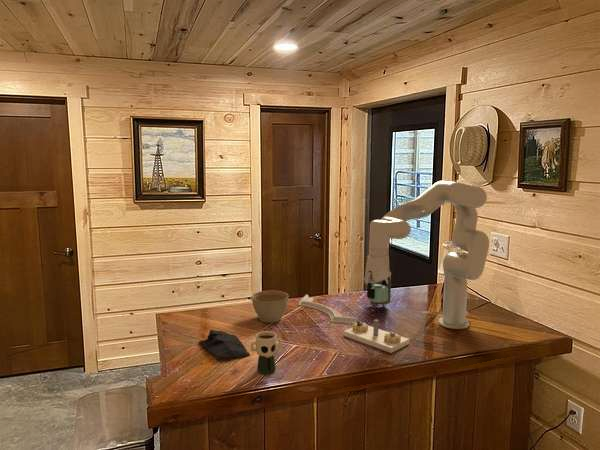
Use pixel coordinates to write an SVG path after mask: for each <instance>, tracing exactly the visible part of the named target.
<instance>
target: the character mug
mask: <svg viewBox="0 0 600 450" xmlns="http://www.w3.org/2000/svg"><path fill="white" fill-rule="evenodd" d="M254 346H255V348H254ZM280 347H282V338H281V337H277V334H276V332H275V331H266V330H265V331H260V332H257V333H256V334H255V341H252V342H251V343H250V351H251V352H253V353H254V352H255V353H256V355H258V360H257V372H258V373H259V374H263V375H269V372H270V374H272V373H275V371H276V360H275V355H276V353H277V351H278V348H280Z"/></svg>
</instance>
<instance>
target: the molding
mask: <svg viewBox="0 0 600 450" xmlns="http://www.w3.org/2000/svg"><path fill="white" fill-rule="evenodd" d="M314 299H315V298H314V297H313V296H312V297H309V295H308V294H305V295H304V296H302V298H301V300H300V301H299V303H298V307H304V308H310V309H314V310H316V311H317V310H318V311H320V312H322V313H324V314H326V315H327V316H328V318H330V323H335V324H346V325H354V323H357V321H360V320H359V317H352V316H342V314H341V313H340V312H339V311H337V310H336V309H334V308H332V307H330V306H327V305H324V304H321V303H318V302H313V301H314Z"/></svg>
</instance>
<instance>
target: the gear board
mask: <svg viewBox="0 0 600 450" xmlns="http://www.w3.org/2000/svg"><path fill="white" fill-rule="evenodd" d="M379 321H380V320H379V319H373V326H372V325H369V324H366V322H363V321H360V320H358V321H357V323H354V324H352V327H351V328H350V327H349V328H347V329H346V330H345V329H344V331H343V336H344V337H346V338H349V339H352V340H355V341H357V342H360V343H363V344H365V345H368V346H370V347H374V348H377V349H379V350H382V351H384V352H387V353H389V354H392V353H394V352H397V351H398V350H400V349H402V348H404V347H405V346H407V345H409V344H410V338H408V337H404V336H401V334H398V333H396V332H392V331H390V332H389V331H386V330H382V329H380V328H379V325H380V322H379Z"/></svg>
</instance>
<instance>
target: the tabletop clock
mask: <svg viewBox="0 0 600 450" xmlns="http://www.w3.org/2000/svg"><path fill="white" fill-rule="evenodd" d="M372 281H373V279H372ZM388 282H389V283H388V284H387V285H388V300H387V301H385V302H373V301H369V302H370V303H369V304H370V305H373V306H374V308H373V309H372V310H371V311H372V313H376V312H377V311H376V309H377V307H378V305H382V307H381V308H382V310H386V308H387V307H386V306H387V305H388V304H390V303H391V292H392V290H391V289H392V277H391V276H390V279H389V281H388ZM380 283H381V281H379V282H376V283H375V284H378V285H380ZM370 284H371V285H372V282H371V283H370ZM385 305H386V306H385Z"/></svg>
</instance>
